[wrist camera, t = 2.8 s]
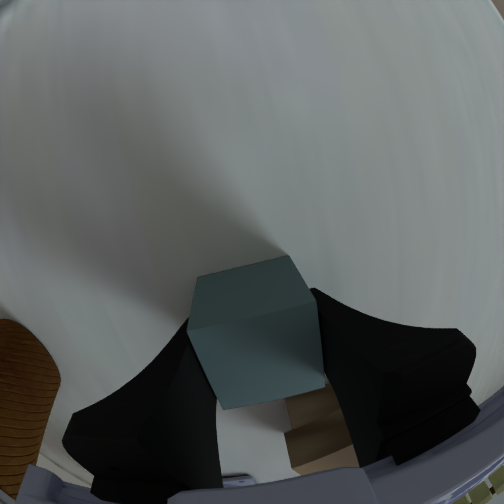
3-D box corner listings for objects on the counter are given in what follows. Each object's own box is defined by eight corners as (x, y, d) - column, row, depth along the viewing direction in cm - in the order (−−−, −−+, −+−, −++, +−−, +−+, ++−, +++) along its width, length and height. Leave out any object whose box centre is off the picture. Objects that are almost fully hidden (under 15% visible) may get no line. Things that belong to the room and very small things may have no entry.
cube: (222, 348, 13) (223, 409, 9) (197, 277, 12) (186, 330, 8) (301, 329, 13) (325, 386, 9) (289, 255, 12) (316, 300, 8)
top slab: (312, 460, 15) (320, 488, 12) (283, 432, 13) (291, 468, 11) (380, 428, 14) (393, 455, 12) (366, 394, 13) (384, 427, 10)
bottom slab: (293, 432, 17) (300, 459, 14) (283, 392, 15) (291, 423, 13) (359, 412, 17) (370, 437, 14) (361, 368, 15) (377, 395, 13)
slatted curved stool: (404, 500, 33) (427, 554, 17) (379, 501, 29) (405, 570, 12) (514, 414, 28) (550, 461, 12) (517, 393, 24) (565, 453, 7)
